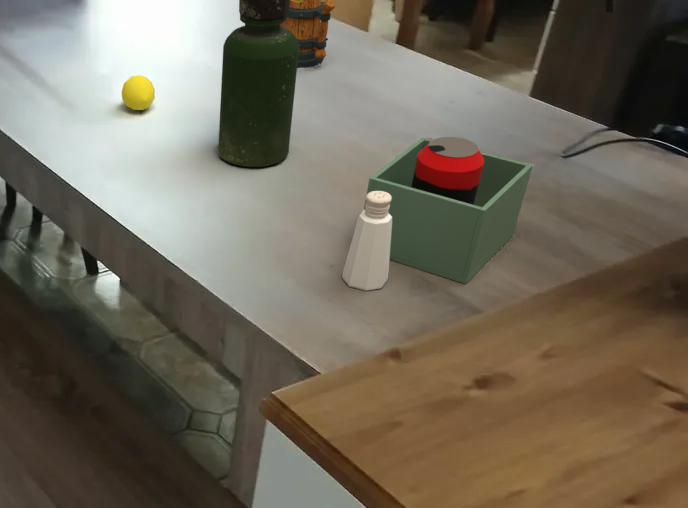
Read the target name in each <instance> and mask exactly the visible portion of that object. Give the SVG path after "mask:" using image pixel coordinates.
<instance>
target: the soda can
mask: <svg viewBox="0 0 688 508" xmlns="http://www.w3.org/2000/svg"><path fill="white" fill-rule="evenodd" d="M431 140H432V141H430V142H429V144H428V145H427V146H425V147H424V148H423V149H422V150H421V151H420V152H419V153H418V157H417V162H416V166H415V171H414V176H413V181H412V186H411V188H415V189H418V190H422V191H425V192H429V193H433V194H436V195H440V196H443V197H447V198H451V199H454V200H458V201H461V202H465V203H469V204H472V205H474V201H475V197H476V193H477V189H478V185H479V181H480V177H481V173H482V169H483V165H484V158H483V156H482V154H481V152H482V151H481V150H480V149H479V145H477V143H475V142H474V141H471V140H469V139H467V138H463V137H456V136H443V137H441V136H440V137H437V138H434V139H431Z"/></svg>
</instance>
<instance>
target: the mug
mask: <svg viewBox="0 0 688 508" xmlns="http://www.w3.org/2000/svg"><path fill="white" fill-rule="evenodd" d="M335 8H336V3H335V1H334V0H325V1H322V0H290V6H289V13H288V14H287V19H286V21H285V22H283V23H281V24H280V26H283V27H285V28H287V29H289V30H290V31H292V33H293V34H294V35H295V37H296V38H297V41H298V45H299V54H298V64H297V69H298V68H309V67H314V66H317V65H319V64H321V63H322V62H323V61H324V59H325V58H326V56H327V51H326V48H327V41H328V40H329V38H328V37H327V35H328V29H329V21H330V20H331V16H332V14H331V12H332V11H333V10H334V9H335Z"/></svg>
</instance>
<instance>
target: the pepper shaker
mask: <svg viewBox="0 0 688 508" xmlns="http://www.w3.org/2000/svg"><path fill="white" fill-rule="evenodd" d="M391 200H392V197H391V195H390V194H389V193H387V192H384V191H372V192H370V193H368V194H367V193H366V196H365V202H366V201H367V202H366V205H365V204H364V208H366V209H365V210H364V209H363V210H362V212H361V213H360V214H359V215H358V218H357V221H356V225H355V228H354V232H353V235H352V238H351V242H350V246H349V250H348V252H347V256H346V261H345V262H344V263H345V264H344V267H343V271H342V274H341V279H343V281H344V282H345V283H346V284H347V286H348V287H349V288H351V289H352V288H353V289H356V290H360V291H365V292H368V291H373V290H379V289H382V288H383V287H384V286H385V284H386V283H387V282H388V280H389V271H390V270H389V269H390V245H391V232H392V216H391V215H390V214H389V213H388V210H389V208H390V202H391Z"/></svg>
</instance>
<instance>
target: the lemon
mask: <svg viewBox="0 0 688 508" xmlns="http://www.w3.org/2000/svg"><path fill="white" fill-rule="evenodd" d="M155 91H156V90H155V87H154V85H153V82H152V81H151V80H150V79H149V78H148V77H147V76H144V75H140V74H138V75H132V76H130V77H128V79H126V81H124V82H123V86H122V89H121V99H122V101H123V103H124V105H125V106H126V107H127V108H130V109H131V110H133V111H135V110H142V111H144V110H146V109H148V108H150V106H152V104H153V102H154V100H156V99H155V98H156V96H155V95H156V94H155V93H156V92H155Z"/></svg>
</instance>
